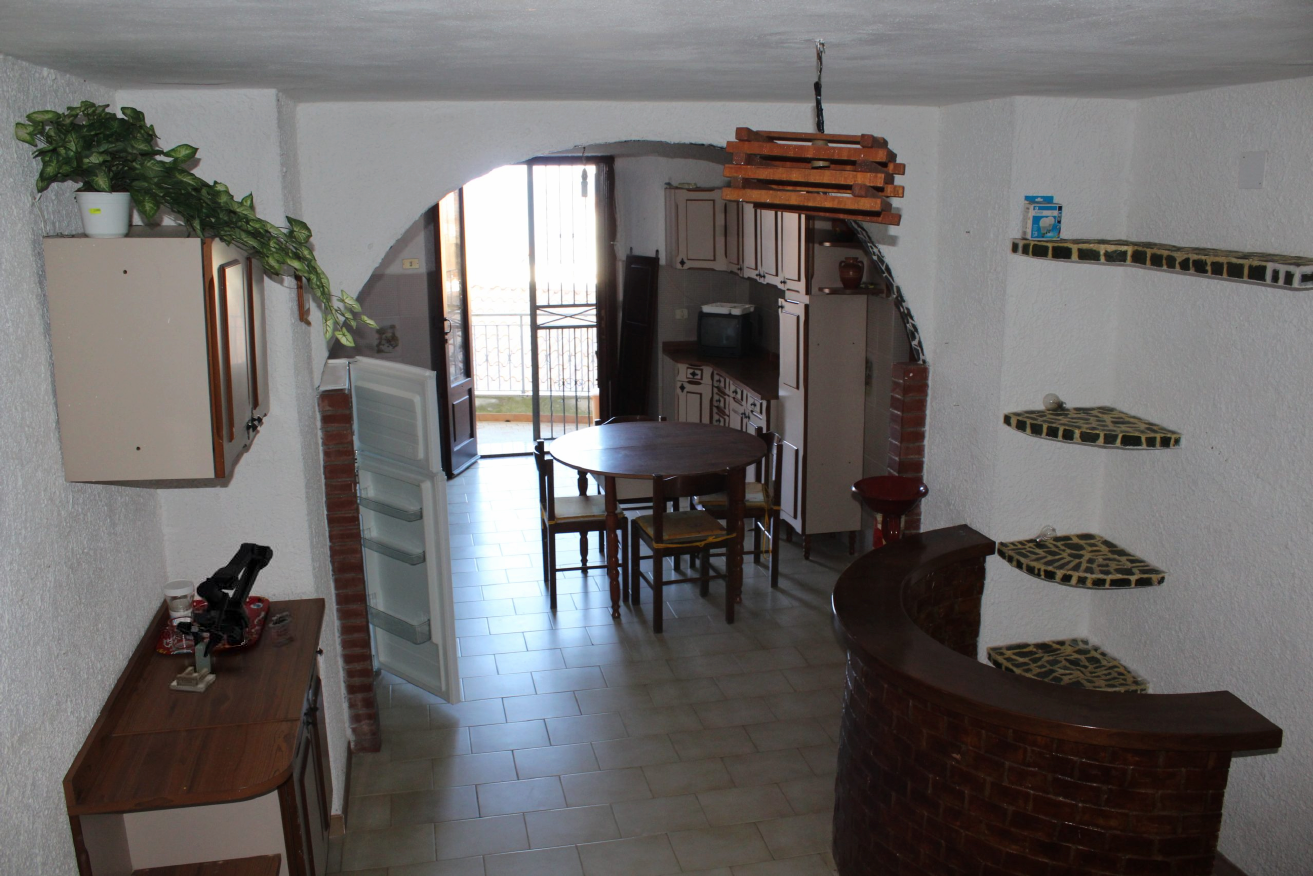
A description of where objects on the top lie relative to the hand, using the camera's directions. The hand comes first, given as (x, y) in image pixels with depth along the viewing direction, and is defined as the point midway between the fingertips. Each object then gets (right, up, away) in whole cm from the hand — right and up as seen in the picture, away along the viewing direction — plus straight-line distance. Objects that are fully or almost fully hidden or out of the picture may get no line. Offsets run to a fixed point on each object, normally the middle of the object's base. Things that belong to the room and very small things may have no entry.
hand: (200, 656), depth 313 cm
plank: (0, -6, +3) cm, 7 cm away
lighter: (+15, -1, +26) cm, 30 cm away
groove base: (-1, -8, -3) cm, 8 cm away
